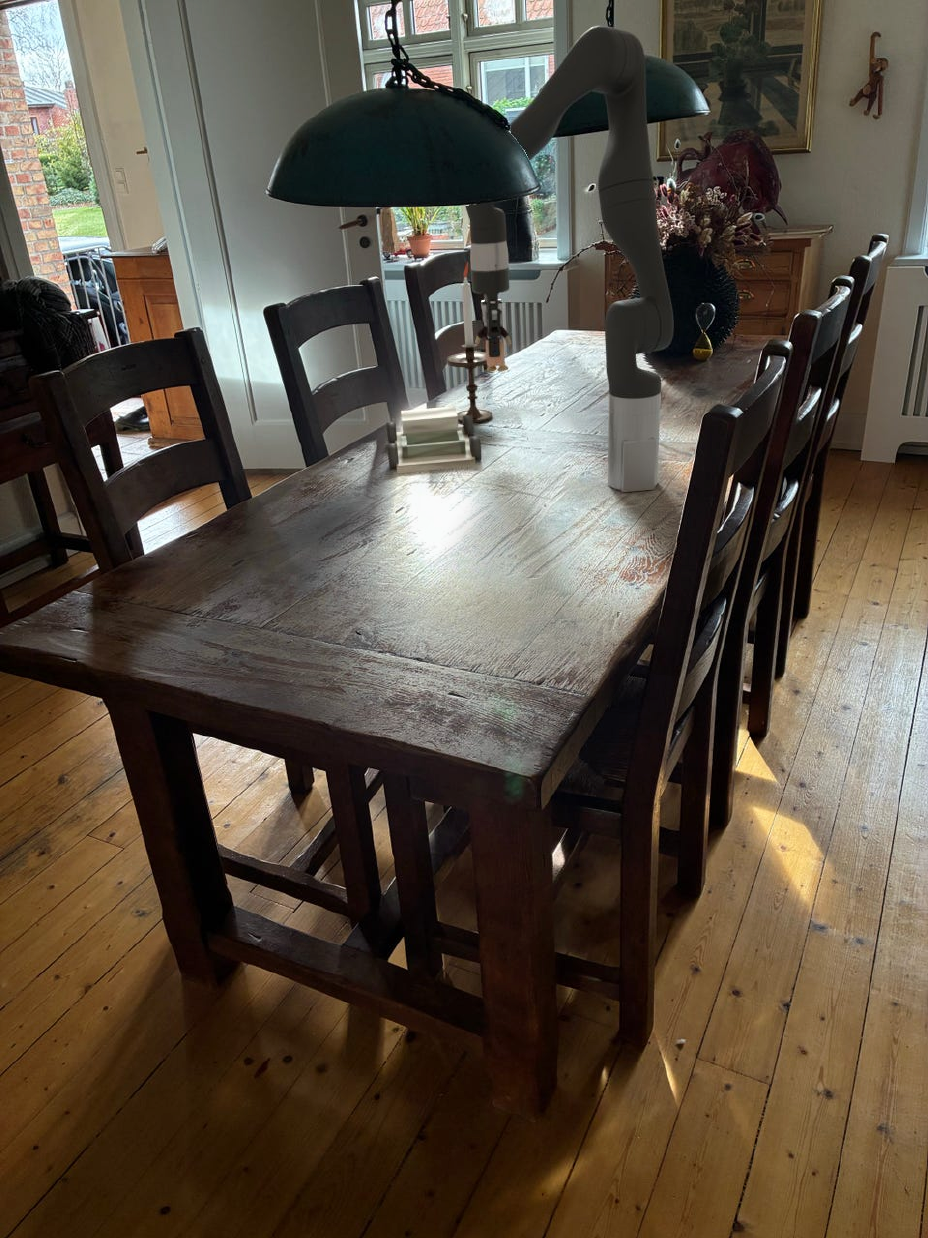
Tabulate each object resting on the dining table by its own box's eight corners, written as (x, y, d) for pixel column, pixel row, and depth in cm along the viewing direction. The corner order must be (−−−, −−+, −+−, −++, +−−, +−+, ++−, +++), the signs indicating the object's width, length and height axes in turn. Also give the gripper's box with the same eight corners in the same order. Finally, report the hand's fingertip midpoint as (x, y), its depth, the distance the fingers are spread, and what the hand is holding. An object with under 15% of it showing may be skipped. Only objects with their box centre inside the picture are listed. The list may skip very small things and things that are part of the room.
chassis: (482, 465, 187) (481, 434, 184) (389, 473, 186) (386, 442, 183) (471, 432, 208) (470, 403, 205) (388, 439, 207) (385, 411, 204)
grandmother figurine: (513, 366, 192) (511, 303, 186) (512, 371, 189) (509, 307, 183) (477, 368, 193) (473, 305, 187) (475, 372, 190) (471, 308, 184)
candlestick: (497, 411, 222) (490, 257, 206) (494, 424, 213) (487, 264, 196) (453, 413, 224) (442, 260, 207) (448, 425, 214) (437, 266, 198)
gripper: (512, 269, 175) (515, 360, 184) (505, 260, 188) (508, 346, 196) (473, 272, 175) (478, 363, 183) (468, 262, 188) (473, 348, 196)
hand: (493, 354), depth 190 cm, fingers closed on grandmother figurine, 3 cm apart
